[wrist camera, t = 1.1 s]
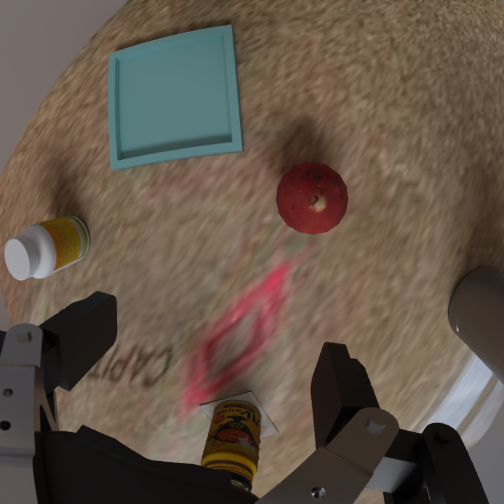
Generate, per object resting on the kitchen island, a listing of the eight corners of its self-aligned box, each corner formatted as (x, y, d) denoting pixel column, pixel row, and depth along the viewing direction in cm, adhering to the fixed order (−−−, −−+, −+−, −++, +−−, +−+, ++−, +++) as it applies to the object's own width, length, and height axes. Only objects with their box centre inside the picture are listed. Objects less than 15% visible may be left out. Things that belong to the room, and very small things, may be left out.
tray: (233, 31, 24) (231, 24, 22) (244, 151, 27) (242, 150, 25) (116, 58, 25) (109, 53, 24) (118, 170, 28) (111, 170, 27)
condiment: (250, 390, 33) (239, 469, 21) (279, 432, 35) (277, 505, 23) (199, 404, 34) (174, 476, 23) (230, 443, 36) (217, 512, 24)
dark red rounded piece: (281, 159, 27) (283, 151, 19) (342, 170, 27) (367, 168, 19) (272, 221, 28) (270, 237, 20) (331, 231, 28) (352, 251, 20)
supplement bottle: (76, 205, 29) (16, 218, 20) (98, 246, 30) (42, 271, 21) (50, 230, 30) (-6, 248, 21) (71, 268, 31) (17, 296, 22)
